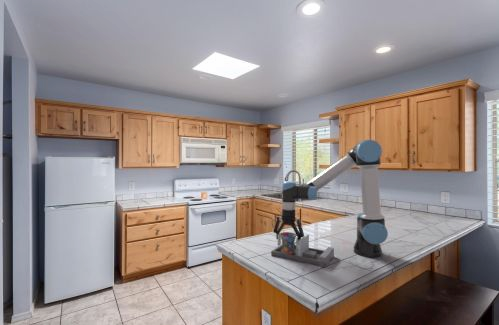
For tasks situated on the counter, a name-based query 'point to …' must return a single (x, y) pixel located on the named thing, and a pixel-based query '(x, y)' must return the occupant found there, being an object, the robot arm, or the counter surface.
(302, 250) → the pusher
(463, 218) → the counter surface
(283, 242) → the mug
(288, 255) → the grey tray
